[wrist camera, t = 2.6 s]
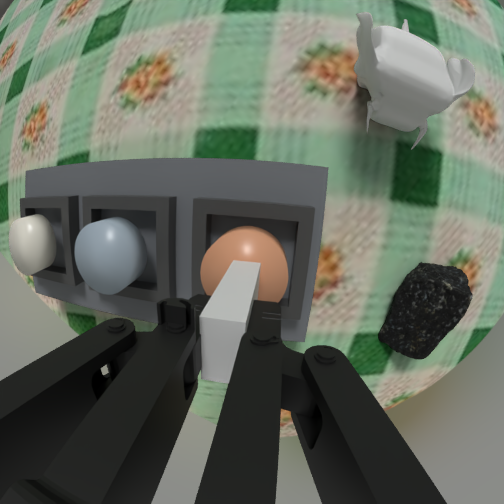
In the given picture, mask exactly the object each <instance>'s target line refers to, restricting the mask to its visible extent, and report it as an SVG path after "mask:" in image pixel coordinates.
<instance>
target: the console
mask: <svg viewBox="0 0 504 504" xmlns="http://www.w3.org/2000/svg"><path fill="white" fill-rule="evenodd" d="M327 178H328V167H320V166H312V165H303V164H293V163H283V162H271V161H257V160H240V159H216V158H153V159H129V160H113V161H100V162H89V163H79V164H70V165H62V166H55V167H48V168H41V169H35V170H29V171H26V183H25V198H21V199H20V212H21V218H23V217H27V216H31V215H35V214H40V215H43V216H44V217H45V218H46V219H47V220H48V221H49V222H50V224H51V226H52V228H53V231H54V234H55V238H56V256H55V259H54V262H53V263H52V264H51V265H50V266H49V267H47V268H45V269H42V270H40V271H38V272H36V273H34V274H32V276H33V280H34V285H35V290H36V293H39V294H42V295H46V296H49V297H52V298H55V299H59V300H62V301H66V302H69V303H73V304H76V305H80V306H84V307H87V308H91V309H95V310H99V311H103V312H107V313H111V314H116V315H120V316H124V317H129V318H134V319H138V320H143V321H148V322H153V323H158V316H157V302H159V301H160V300H163V299H167V298H183V299H188V300H189V299H190V298H191V297H193V296H195V295H197V294H203V295H207V294H206V292H205V290H204V288H203V285H202V282H201V274H200V271H201V264H202V260H203V258H204V255H205V254H206V252H207V250H208V249H209V248H210V247H211V246H212V245H213V244H214V243H215V242H216V241H217V240H218V239H219V238H220V237H221V236H222V235H223V234H224V233H226V232H227V231H229V230H231V229H233V228H236V227H240V226H255V227H259V228H262V229H264V230H266V231H268V232H270V233H271V234H272V235H274V236H275V237H276V238H277V239H278V240H279V242H280V243H281V245H282V246H283V248H284V251H285V253H286V258H287V267H288V284H287V288H286V291H285V293H284V295H283V297H282V298H281V300H280V301H279V302H278V304H279V306H280V307H281V339H282V340H285V341H298V342H305V337H306V331H307V326H308V321H309V315H310V309H311V304H312V298H313V292H314V285H315V279H316V272H317V265H318V258H319V251H320V243H321V235H322V227H323V219H324V209H325V200H326V189H327ZM112 217H121V218H125V219H127V220H129V221H130V222H132V223H133V224H134V225H135V226H136V227H137V228H138V229H139V231H140V232H141V234H142V235H143V238H144V240H145V243H146V247H147V263H146V267H145V269H144V271H143V273H142V274H141V275H140V277H138V278H137V279H136V280H135V281H133V282H132V283H131V284H129V285H128V286H127V287H125V288H124V289H123V290H121V291H120V292H118V293H116V294H112V295H107V294H102V293H99V292H97V291H95V290H94V289H92V288H91V287H90V286H89V285H88V284H87V283H86V282H85V281H84V279H83V278H82V276H81V274H80V272H79V270H78V268H77V265H76V261H75V243H76V239H77V236H78V234H79V233H80V231H81V230H82V229H83V228H84V227H85V226H86V225H88V224H90V223H93V222H97V221H101V220H104V219H108V218H112Z"/></svg>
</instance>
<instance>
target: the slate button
mask: <svg viewBox="0 0 504 504" xmlns="http://www.w3.org/2000/svg"><path fill="white" fill-rule="evenodd" d="M75 261H76V265H77V268H78V270H79V272H80V274H81V276H82V278H83V279H84V281H85V282H86V283H87V284H88V285H89V286H90V287H91V288H92V289H94V290H95V291H97V292H99V293H102V294H107V295H112V294H116V293H118V292H120V291H121V290H123V289H124V288H125V287H127V286H128V285H129V284H131V283H132V282H133V281H135V280H136V279H137V278H138V277H140V275H141V274H142V273H143V271H144V269H145V267H146V263H147V247H146V243H145V240H144V238H143V235H142V234H141V232H140V231H139V229H138V228H137V227H136V226H135V225H134V224H133V223H132V222H130V221H129V220H127V219H125V218H121V217H112V218H108V219H104V220H101V221H97V222H93V223H90V224H88V225H86V226H85V227H84V228H83V229H82V230H81V231H80V233H79V234H78V236H77V239H76V243H75Z"/></svg>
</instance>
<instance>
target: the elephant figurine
mask: <svg viewBox="0 0 504 504" xmlns="http://www.w3.org/2000/svg"><path fill="white" fill-rule="evenodd" d="M356 15H357V17H358V19H359V21H360V25H359V27H358V30H357V46H358V50H359V58H358V60H357V62H356V63H355V66H354V71H355V73H356V74H357V75H358V76H357V82H358V85H359V86H360V87H362V88H366V89H368V91H369V93H370V96H371V100H372V101H368V103H367V108H368V114H367V132H368V127H369V121H370V118H371V119H372V120H373V121H375V122H377V123H380V124H383V125H386V126H389V127H392V128H395V129H397V130H400V131H404V132H410V131H413V130H415V129H416V128H417V127H420V131H419V135H418V138H417V140H416V141H415V143H414V145H413V147H412V148H411V150H412V149H413V148H414V147H415V146H416V145H417V143H418V142H419V141H420V140H421V139H422V137H423V136H424V134H425V133H426V131H427V129H428V128H427V127H428V126H427V120H426V119H427V118H428V117H429V116H432V115H435V114H438V113H440V112H442V111H444V110H445V109H446V108H448V107H449V106H450V105H451V104H452V103H453V102H454V101H455V100H456V99H458V98H460V97H461V96H463V95H464V94H466V93H467V92H468V91H469V90H470V89H471V87H472V86H473V83H474V79H475V68H474V66H473V64H472V63H471V62H470V61H469V60H468V59H465V58H463V59H461V60H458V59H456V58H450V59H449V60H448V62H447V65H446V62H445V60H444V57H443V55H442V54H441V52H440V51H439V50H438V49H437V48H435V47H434V46H432V45H431V44H429V43H428V42H426V41H425V40H423V39H421V38H419V37H417V36H415V35H413V34H411V33H409V29H408V24H407V22H408V21H407V20H406V19H404V23H403V26H402V30H401V29H398V28H395V27H391V26H378V27H375V28H374V29H372V27H373V18H372V15H371V14H370V13H368V12H363V13H357V14H356Z"/></svg>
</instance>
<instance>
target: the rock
mask: <svg viewBox="0 0 504 504" xmlns="http://www.w3.org/2000/svg"><path fill="white" fill-rule="evenodd" d="M472 296H473V295H472V293H471V291H470V287H469V286H468V279H467V276H466V274H465V273H463V271H462V270H461V269H457V268H456V267H454V266H442V265H437V264H430V263H422V262H421V263H419V265H418V266H417V267H416V268H415V269H413V270H412V271H411V272H410V273H409V274H407V276H406V277H405V280H404V282H403V283H402V284H401V286H399V288H398V290H397V292H396V293H395V295H394V301H393V304H392V307H391V310H390V313H389V315H388V316H387V317H386V323H385V324H384V325H383V327H382V328H381V331H380V333H379V340H380V341H381V342H383V343H386V344H388V345H389V346H390V347H391V348H392V349H394V350H395V351H396V352H400V353H401V354H403V355H405V356H408V357H410V358H414V359H424V358H426V357H427V356H428V355H430V353H431V352H432V351H433V350H434V349H435V347H436V346H437V345H438V344H439V342H440V341H441V340H442V339H443V338H444V337H445V336H446V335H447V333H449V332H450V331H451V330H452V329H453V328H454V327H455V326H456V325H457V324H458V323H459V321H460V320H461V318H462V317H463V316H464V315H465V313H466V311H467V309H468V307H469V305H470V301H471V300H472Z"/></svg>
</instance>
